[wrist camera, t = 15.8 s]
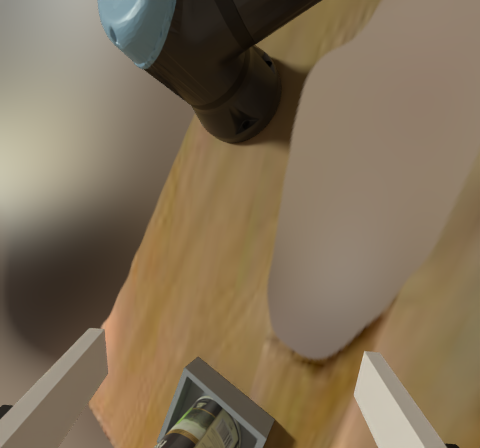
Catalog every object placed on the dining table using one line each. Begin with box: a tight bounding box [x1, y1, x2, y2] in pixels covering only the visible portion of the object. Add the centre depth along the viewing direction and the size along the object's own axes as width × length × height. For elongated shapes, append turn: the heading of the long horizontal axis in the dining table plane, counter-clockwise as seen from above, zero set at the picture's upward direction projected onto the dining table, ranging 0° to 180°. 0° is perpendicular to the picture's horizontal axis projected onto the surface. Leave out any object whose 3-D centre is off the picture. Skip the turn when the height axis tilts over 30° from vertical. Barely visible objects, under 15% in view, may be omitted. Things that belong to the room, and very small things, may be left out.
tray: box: [157, 357, 275, 448], centre depth 39 cm, size 16×16×4 cm
